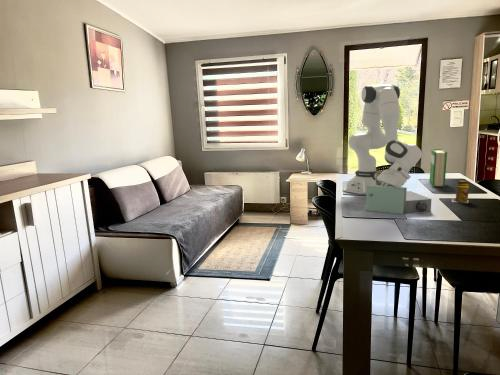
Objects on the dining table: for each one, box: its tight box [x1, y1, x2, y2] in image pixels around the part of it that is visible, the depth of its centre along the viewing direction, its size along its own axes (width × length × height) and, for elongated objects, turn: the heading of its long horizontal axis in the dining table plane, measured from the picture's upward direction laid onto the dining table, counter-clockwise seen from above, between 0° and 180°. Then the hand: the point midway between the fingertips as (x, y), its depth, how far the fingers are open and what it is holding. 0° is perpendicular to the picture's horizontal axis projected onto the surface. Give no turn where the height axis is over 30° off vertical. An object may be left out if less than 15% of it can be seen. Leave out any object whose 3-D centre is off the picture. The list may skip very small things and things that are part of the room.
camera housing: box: [404, 190, 433, 215], centre depth 202 cm, size 22×14×7 cm, turn 8°
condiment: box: [451, 179, 470, 204], centre depth 213 cm, size 7×8×12 cm
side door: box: [365, 185, 408, 215], centre depth 196 cm, size 20×2×14 cm, turn 59°
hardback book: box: [429, 148, 448, 188], centre depth 257 cm, size 18×7×24 cm, turn 161°
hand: (380, 190), depth 199 cm, fingers closed
